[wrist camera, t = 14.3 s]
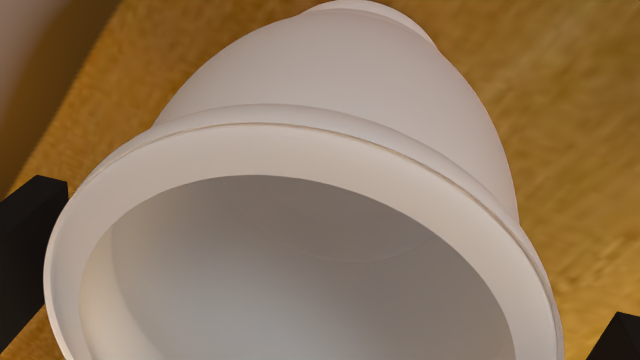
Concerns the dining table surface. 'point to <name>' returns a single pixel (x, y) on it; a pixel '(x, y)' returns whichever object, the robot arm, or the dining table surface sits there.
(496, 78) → the dining table surface
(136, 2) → the dining table surface
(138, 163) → the jar
